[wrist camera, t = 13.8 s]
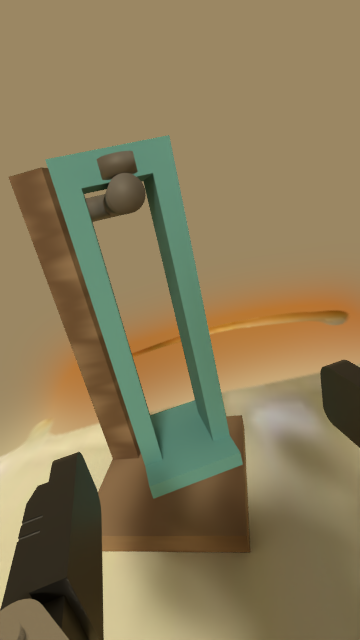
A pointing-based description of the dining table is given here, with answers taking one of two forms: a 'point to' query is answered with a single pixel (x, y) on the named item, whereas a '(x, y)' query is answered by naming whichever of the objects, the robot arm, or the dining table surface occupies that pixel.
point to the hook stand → (96, 368)
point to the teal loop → (176, 251)
